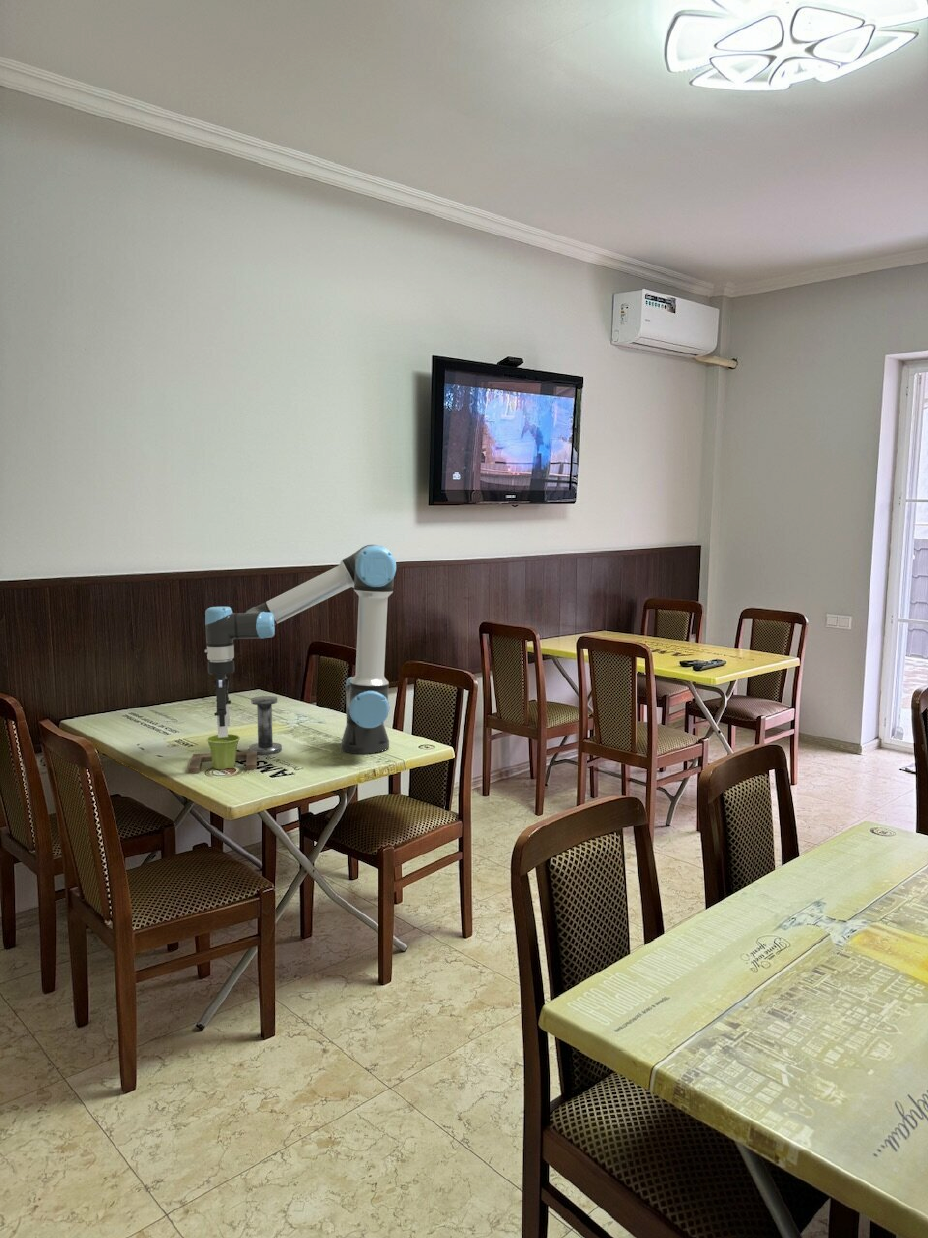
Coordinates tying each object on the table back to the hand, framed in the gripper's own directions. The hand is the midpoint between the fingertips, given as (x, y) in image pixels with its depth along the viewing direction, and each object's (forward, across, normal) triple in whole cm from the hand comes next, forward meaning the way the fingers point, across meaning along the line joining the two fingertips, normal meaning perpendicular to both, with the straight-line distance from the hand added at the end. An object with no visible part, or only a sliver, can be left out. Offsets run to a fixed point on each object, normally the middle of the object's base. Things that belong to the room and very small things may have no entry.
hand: (224, 731), depth 260 cm
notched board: (+10, -2, -1) cm, 11 cm away
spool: (+11, -15, +11) cm, 22 cm away
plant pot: (+11, +1, 0) cm, 11 cm away
